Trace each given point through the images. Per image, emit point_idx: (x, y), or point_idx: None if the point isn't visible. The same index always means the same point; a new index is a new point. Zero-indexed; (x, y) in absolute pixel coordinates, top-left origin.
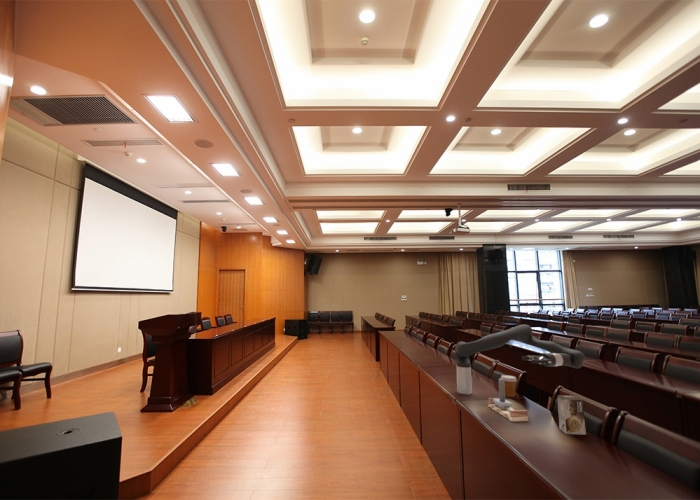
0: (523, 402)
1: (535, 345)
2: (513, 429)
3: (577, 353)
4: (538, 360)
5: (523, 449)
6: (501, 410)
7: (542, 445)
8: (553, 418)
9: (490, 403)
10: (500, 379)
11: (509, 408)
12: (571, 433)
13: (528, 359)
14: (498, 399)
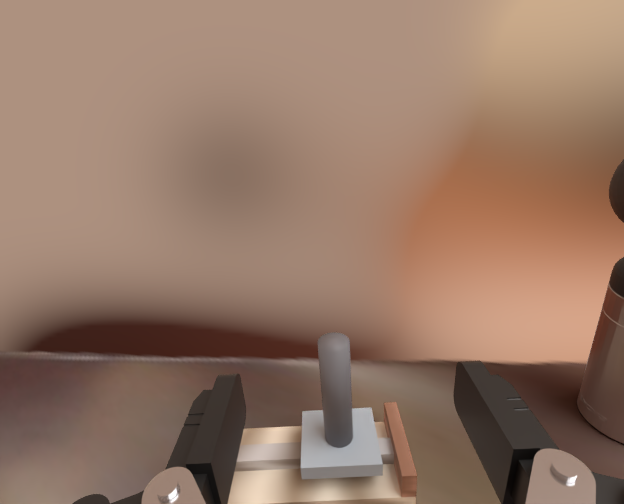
0: None
1: None
2: (164, 409)
3: None
4: (170, 462)
5: (69, 372)
6: (298, 430)
7: (36, 426)
8: None
9: (384, 422)
10: (328, 336)
11: (281, 450)
12: None
13: (515, 500)
14: (365, 429)
